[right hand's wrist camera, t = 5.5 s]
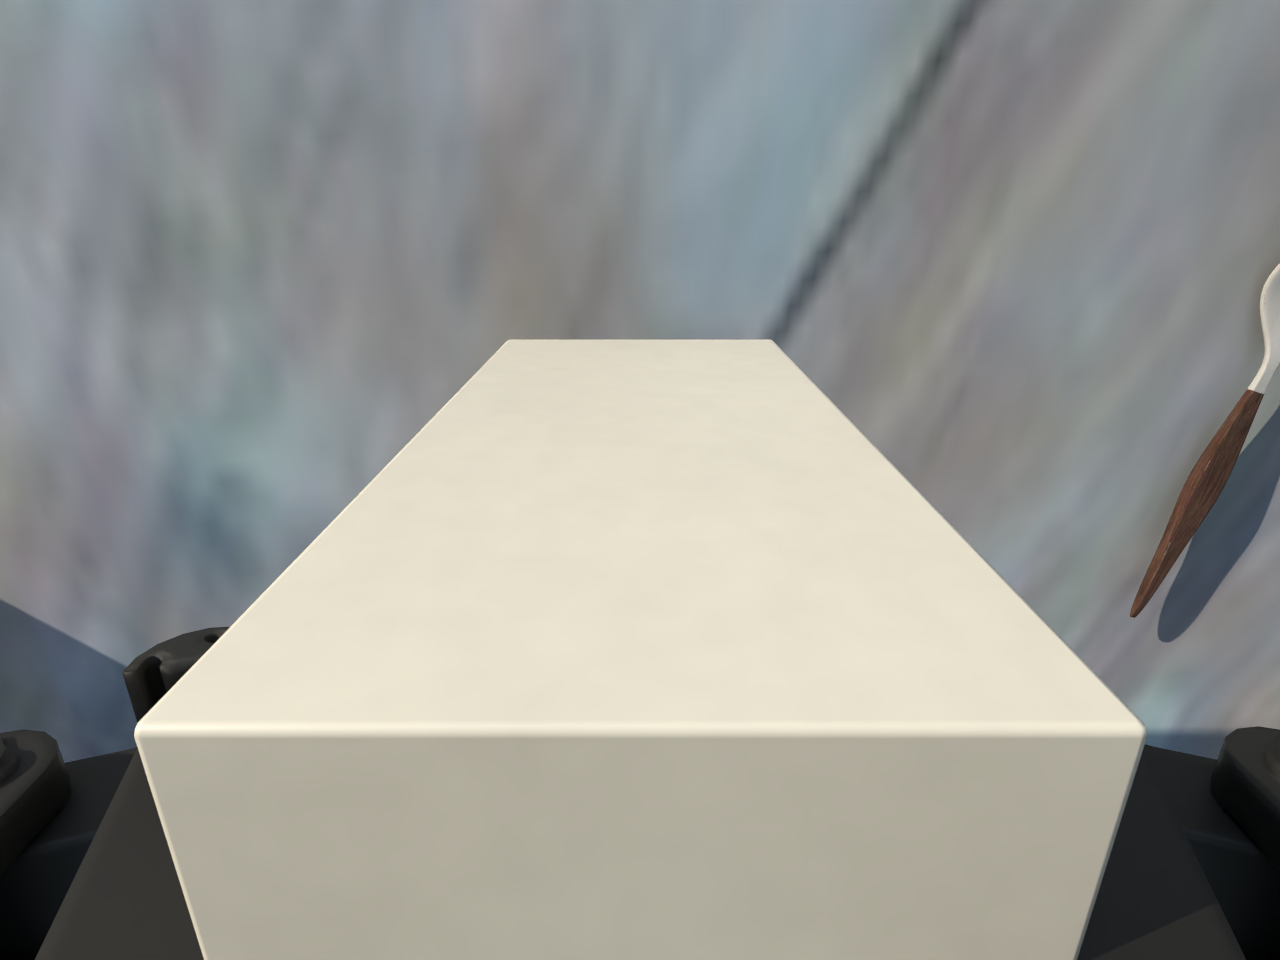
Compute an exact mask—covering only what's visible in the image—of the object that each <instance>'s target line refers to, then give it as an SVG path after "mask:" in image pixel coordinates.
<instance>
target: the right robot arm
mask: <svg viewBox="0 0 1280 960" xmlns="http://www.w3.org/2000/svg"><path fill="white" fill-rule="evenodd" d="M229 628H230V627H217V628H207V629H203V630H199V631H194V632H190V633H186V634H182V635H180V636H177V637H175V638H172V639H170V640H167V641H165V642H162V643H160V644H157V645H156V646H154V647H152V648H151V649H149V650H148V651H146V652H144V653H143V654H141V655H140V656H138V657H136V658H135V659H134V660H133V661H132V663H131V664H130V665H129V666H128V667H127V668H126V669H125V670H124V671H123V672H122V673H123V676H124V680H125V683H126V686H127V689H128V692H129V696H130V699H131V702H132V705H133V709H134V712H135V715H136V718H137V722H139V721H140V720H141V719H142V718H143V717H144V716H145V715H146V714H147V713H148V712H149V711H150V710H151V709H152V708H153V707H154V706H155V704H156V703H157V702H158V701H159V700H160V699H161V698H162V697H163V696H164V695H165V694H166V693H167V692H168V691H169V690H170V689H171V688H172V687H173V686H174V685H175V684H176V683H177V682H178V681H179V680H180V679H181V678H182V677H183V676H184V674H185V673H186V672H187V671H188V670H189V669H190V668H191V667H192V666H193V665H194V664H195V663H196V662H197V661H198V660H199V659H200V658H201V657H202V656H203V655H204V654H205V653H206V652H207V651H208V650H209V649H210V648H211V647H212V646H213V645H214V643H215V642H216V641H217V640H218V639H219V638H220V637H221V636H222V635H223V634H224V633H225V632H226V631H227V630H228V629H229ZM0 960H204V958H203V954H202V951H201V948H200V945H199V942H198V938H197V935H196V932H195V929H194V926H193V923H192V919H191V916H190V913H189V910H188V907H187V903H186V900H185V897H184V894H183V891H182V887H181V884H180V881H179V878H178V875H177V871H176V868H175V865H174V862H173V859H172V856H171V852H170V849H169V846H168V843H167V840H166V836H165V833H164V830H163V827H162V824H161V820H160V817H159V814H158V811H157V808H156V804H155V801H154V798H153V795H152V792H151V788H150V785H149V782H148V779H147V776H146V773H145V769H144V766H143V763H142V760H141V757H140V753H139V750H138V747H136V748H133V749H129V750H125V751H120V752H115V753H110V754H105V755H101V756H96V757H91V758H86V759H81V760H77V761H72V762H67V763H64V761H63V758H62V755H61V752H60V750H59V747H58V744H57V741H56V740H55V739H54V738H52V737H51V736H49V735H48V734H47V733H45V732H40V731H31V730H19V731H12V732H5V733H0ZM1077 960H1280V730H1278V729H1271V728H1265V727H1250V728H1240V729H1236V730H1235V731H1234V732H1232V733H1231V734H1229V735H1228V736H1227V737H1226V738H1225V741H1224V743H1223V746H1222V749H1221V752H1220V754H1219V757H1218V760H1215V759H1210V758H1205V757H1200V756H1195V755H1191V754H1186V753H1181V752H1176V751H1171V750H1166V749H1162V748H1157V747H1153V746H1149V745H1144V748H1143V751H1142V755H1141V758H1140V761H1139V764H1138V767H1137V771H1136V774H1135V777H1134V780H1133V783H1132V786H1131V790H1130V793H1129V796H1128V799H1127V802H1126V806H1125V809H1124V812H1123V815H1122V818H1121V821H1120V825H1119V828H1118V831H1117V834H1116V837H1115V841H1114V844H1113V847H1112V850H1111V853H1110V856H1109V860H1108V863H1107V866H1106V869H1105V872H1104V876H1103V879H1102V882H1101V885H1100V888H1099V891H1098V895H1097V898H1096V901H1095V904H1094V907H1093V911H1092V914H1091V917H1090V920H1089V923H1088V926H1087V930H1086V933H1085V936H1084V939H1083V942H1082V946H1081V949H1080V952H1079V955H1078V958H1077Z"/></svg>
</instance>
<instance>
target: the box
mask: <svg viewBox="0 0 1280 960" xmlns="http://www.w3.org/2000/svg"><path fill="white" fill-rule="evenodd" d="M134 737H135V741H136V744H137V747H138V750H139V753H140V757H141V760H142V763H143V766H144V769H145V773H146V776H147V779H148V782H149V785H150V788H151V792H152V795H153V798H154V801H155V804H156V808H157V811H158V814H159V817H160V820H161V824H162V827H163V830H164V833H165V836H166V840H167V843H168V846H169V849H170V852H171V856H172V859H173V862H174V865H175V868H176V871H177V875H178V878H179V881H180V884H181V887H182V891H183V894H184V897H185V900H186V903H187V907H188V910H189V913H190V916H191V919H192V923H193V926H194V929H195V932H196V935H197V938H198V942H199V945H200V948H201V951H202V954H203V958H204V960H1077V958H1078V955H1079V952H1080V949H1081V946H1082V942H1083V939H1084V936H1085V933H1086V930H1087V926H1088V923H1089V920H1090V917H1091V914H1092V911H1093V907H1094V904H1095V901H1096V898H1097V895H1098V891H1099V888H1100V885H1101V882H1102V879H1103V876H1104V872H1105V869H1106V866H1107V863H1108V860H1109V856H1110V853H1111V850H1112V847H1113V844H1114V841H1115V837H1116V834H1117V831H1118V828H1119V825H1120V821H1121V818H1122V815H1123V812H1124V809H1125V806H1126V802H1127V799H1128V796H1129V793H1130V790H1131V786H1132V783H1133V780H1134V777H1135V774H1136V771H1137V767H1138V764H1139V761H1140V758H1141V755H1142V751H1143V748H1144V745H1145V742H1146V739H1147V730H1146V727H1145V725H1144V723H1143V722H1142V721H1141V720H1140V719H1139V717H1138V716H1137V715H1136V714H1135V713H1134V712H1133V711H1132V710H1131V709H1130V708H1129V707H1128V706H1127V705H1126V704H1125V703H1124V702H1123V701H1122V700H1121V699H1120V698H1119V697H1118V696H1117V695H1116V694H1115V693H1114V692H1113V691H1112V690H1111V689H1110V688H1109V687H1108V686H1107V685H1106V683H1105V682H1104V681H1103V680H1102V679H1101V678H1100V677H1099V676H1098V675H1097V674H1096V673H1095V672H1094V671H1093V670H1092V669H1091V668H1090V667H1089V666H1088V665H1087V664H1086V663H1085V662H1084V661H1083V660H1082V659H1081V658H1080V657H1079V656H1078V655H1077V654H1076V653H1075V652H1074V651H1073V649H1072V648H1071V647H1070V646H1069V645H1068V644H1067V643H1066V642H1065V641H1064V640H1063V639H1062V638H1061V637H1060V636H1059V635H1058V634H1057V633H1056V632H1055V631H1054V630H1053V629H1052V628H1051V627H1050V626H1049V625H1048V624H1047V623H1046V622H1045V621H1044V620H1043V619H1042V618H1041V617H1040V615H1039V614H1038V613H1037V612H1036V611H1035V610H1034V609H1033V608H1032V607H1031V606H1030V605H1029V604H1028V603H1027V602H1026V601H1025V600H1024V599H1023V598H1022V597H1021V596H1020V595H1019V594H1018V593H1017V592H1016V591H1015V590H1014V589H1013V588H1012V587H1011V586H1010V585H1009V584H1008V583H1007V581H1006V580H1005V579H1004V578H1003V577H1002V576H1001V575H1000V574H999V573H998V572H997V571H996V570H995V569H994V568H993V567H992V566H991V565H990V564H989V563H988V562H987V561H986V560H985V559H984V558H983V557H982V556H981V555H980V554H979V553H978V552H977V551H976V550H975V549H974V547H973V546H972V545H971V544H970V543H969V542H968V541H967V540H966V539H965V538H964V537H963V536H962V535H961V534H960V533H959V532H958V531H957V530H956V529H955V528H954V527H953V526H952V525H951V524H950V523H949V522H948V521H947V520H946V519H945V518H944V517H943V516H942V515H941V513H940V512H939V511H938V510H937V509H936V508H935V507H934V506H933V505H932V504H931V503H930V502H929V501H928V500H927V499H926V498H925V497H924V496H923V495H922V494H921V493H920V492H919V491H918V490H917V489H916V488H915V487H914V486H913V485H912V484H911V483H910V482H909V481H908V479H907V478H906V477H905V476H904V475H903V474H902V473H901V472H900V471H899V470H898V469H897V468H896V467H895V466H894V465H893V464H892V463H891V462H890V461H889V460H888V459H887V458H886V457H885V456H884V455H883V454H882V453H881V452H880V451H879V450H878V449H877V448H876V447H875V445H874V444H873V443H872V442H871V441H870V440H869V439H868V438H867V437H866V436H865V435H864V434H863V433H862V432H861V431H860V430H859V429H858V428H857V427H856V426H855V425H854V424H853V423H852V422H851V421H850V420H849V419H848V418H847V417H846V416H845V415H844V414H843V413H842V411H841V410H840V409H839V408H838V407H837V406H836V405H835V404H834V403H833V402H832V401H831V400H830V399H829V398H828V397H827V396H826V395H825V394H824V393H823V392H822V391H821V390H820V389H819V388H818V387H817V386H816V385H815V384H814V383H813V382H812V381H811V380H810V379H809V377H808V376H807V375H806V374H805V373H804V372H803V371H802V370H801V369H800V368H799V367H798V366H797V365H796V364H795V363H794V362H793V361H792V360H791V359H790V358H789V357H788V356H787V355H786V354H785V353H784V352H783V351H782V350H781V349H780V348H779V347H778V346H777V345H776V343H775V342H774V341H772V340H508V341H507V342H506V343H505V344H504V345H503V346H502V347H501V348H500V349H499V350H498V351H497V352H496V353H495V354H494V355H493V356H492V357H491V358H490V359H489V360H488V361H487V362H486V363H485V364H484V365H483V367H482V368H481V369H480V370H479V371H478V372H477V373H476V374H475V375H474V376H473V377H472V378H471V379H470V380H469V381H468V382H467V383H466V384H465V385H464V386H463V387H462V388H461V389H460V390H459V391H458V392H457V393H456V394H455V395H454V397H453V398H452V399H451V400H450V401H449V402H448V403H447V404H446V405H445V406H444V407H443V408H442V409H441V410H440V411H439V412H438V413H437V414H436V415H435V416H434V417H433V418H432V419H431V420H430V421H429V422H428V423H427V424H426V425H425V426H424V428H423V429H422V430H421V431H420V432H419V433H418V434H417V435H416V436H415V437H414V438H413V439H412V440H411V441H410V442H409V443H408V444H407V445H406V446H405V447H404V448H403V449H402V450H401V451H400V452H399V453H398V454H397V455H396V456H395V457H394V459H393V460H392V461H391V462H390V463H389V464H388V465H387V466H386V467H385V468H384V469H383V470H382V471H381V472H380V473H379V474H378V475H377V476H376V477H375V478H374V479H373V480H372V481H371V482H370V483H369V484H368V485H367V486H366V487H365V488H364V490H363V491H362V492H361V493H360V494H359V495H358V496H357V497H356V498H355V499H354V500H353V501H352V502H351V503H350V504H349V505H348V506H347V507H346V508H345V509H344V510H343V511H342V512H341V513H340V514H339V515H338V516H337V517H336V518H335V519H334V521H333V522H332V523H331V524H330V525H329V526H328V527H327V528H326V529H325V530H324V531H323V532H322V533H321V534H320V535H319V536H318V537H317V538H316V539H315V540H314V541H313V542H312V543H311V544H310V545H309V546H308V547H307V548H306V549H305V550H304V552H303V553H302V554H301V555H300V556H299V557H298V558H297V559H296V560H295V561H294V562H293V563H292V564H291V565H290V566H289V567H288V568H287V569H286V570H285V571H284V572H283V573H282V574H281V575H280V576H279V577H278V578H277V579H276V580H275V581H274V583H273V584H272V585H271V586H270V587H269V588H268V589H267V590H266V591H265V592H264V593H263V594H262V595H261V596H260V597H259V598H258V599H257V600H256V601H255V602H254V603H253V604H252V605H251V606H250V607H249V608H248V609H247V610H246V611H245V612H244V614H243V615H242V616H241V617H240V618H239V619H238V620H237V621H236V622H235V623H234V624H233V625H232V626H231V627H230V628H229V629H228V630H227V631H226V632H225V633H224V634H223V635H222V636H221V637H220V638H219V639H218V640H217V641H216V642H215V643H214V645H213V646H212V647H211V648H210V649H209V650H208V651H207V652H206V653H205V654H204V655H203V656H202V657H201V658H200V659H199V660H198V661H197V662H196V663H195V664H194V665H193V666H192V667H191V668H190V669H189V670H188V671H187V672H186V673H185V674H184V676H183V677H182V678H181V679H180V680H179V681H178V682H177V683H176V684H175V685H174V686H173V687H172V688H171V689H170V690H169V691H168V692H167V693H166V694H165V695H164V696H163V697H162V698H161V699H160V700H159V701H158V702H157V703H156V704H155V706H154V707H153V708H152V709H151V710H150V711H149V712H148V713H147V714H146V715H145V716H144V717H143V718H142V719H141V720H140V721H139V722H138V723H137V726H136V728H135V733H134Z"/></svg>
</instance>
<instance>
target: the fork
mask: <svg viewBox="0 0 1280 960" xmlns="http://www.w3.org/2000/svg"><path fill="white" fill-rule="evenodd" d="M1260 317H1261V324H1262V329H1263V335H1264V342H1265V355H1264V360H1263V363H1262V365H1261V368H1260V370H1259V371H1258V373H1257V375H1256V377H1255V378H1254V380H1253V381H1252V383H1251V384H1250V386H1249V387H1248V389H1247V390H1246V392H1245V393H1244V395H1243V396H1242V397H1241V399H1240V400H1239V402H1238V403H1237V405H1236V406H1235V407H1234V409H1233V410H1232V412H1231V413H1230V415H1229V416H1228V417H1227V419H1226V420H1225V422H1224V423H1223V425H1222V426H1221V427H1220V429H1219V430H1218V432H1217V433H1216V435H1215V436H1214V438H1213V439H1212V440H1211V442H1210V443H1209V445H1208V446H1207V448H1206V449H1205V451H1204V452H1203V454H1202V455H1201V457H1200V458H1199V460H1198V462H1197V463H1196V465H1195V466H1194V468H1193V470H1192V471H1191V473H1190V475H1189V477H1188V479H1187V481H1186V483H1185V485H1184V487H1183V489H1182V491H1181V493H1180V496H1179V498H1178V500H1177V503H1176V505H1175V508H1174V510H1173V513H1172V515H1171V518H1170V520H1169V522H1168V525H1167V527H1166V530H1165V532H1164V535H1163V537H1162V539H1161V542H1160V544H1159V546H1158V549H1157V551H1156V553H1155V555H1154V557H1153V559H1152V562H1151V564H1150V566H1149V568H1148V570H1147V572H1146V575H1145V577H1144V579H1143V581H1142V583H1141V586H1140V588H1139V590H1138V593H1137V595H1136V598H1135V600H1134V603H1133V606H1132V609H1131V613H1130V617H1134V618H1135V617H1136V616H1137V615H1138V614H1139V613H1140V612H1141V611H1142V609H1143V608H1144V607H1145V605H1146V604H1147V603H1148V601H1149V600H1150V599H1151V597H1152V596H1153V594H1154V593H1155V592H1156V590H1157V589H1158V587H1159V586H1160V584H1161V583H1162V581H1163V580H1164V578H1165V577H1166V575H1167V574H1168V572H1169V570H1170V569H1171V567H1172V566H1173V564H1174V563H1175V561H1176V560H1177V558H1178V557H1179V555H1180V554H1181V552H1182V551H1183V549H1184V548H1185V546H1186V545H1187V543H1188V542H1189V540H1190V539H1191V537H1192V536H1193V535H1194V533H1195V532H1196V530H1197V529H1198V527H1199V526H1200V524H1201V523H1202V521H1203V520H1204V518H1205V517H1206V516H1207V514H1208V512H1209V511H1210V509H1211V508H1212V506H1213V505H1214V503H1215V502H1216V500H1217V498H1218V497H1219V495H1220V493H1221V492H1222V490H1223V488H1224V486H1225V484H1226V482H1227V480H1228V478H1229V476H1230V474H1231V472H1232V469H1233V467H1234V465H1235V463H1236V460H1237V458H1238V456H1239V453H1240V451H1241V449H1242V446H1243V444H1244V441H1245V439H1246V436H1247V434H1248V432H1249V429H1250V427H1251V424H1252V422H1253V420H1254V417H1255V415H1256V412H1257V410H1258V407H1259V405H1260V403H1261V400H1262V398H1263V396H1264V393H1265V391H1266V389H1267V386H1268V384H1269V382H1270V380H1271V378H1272V376H1273V374H1274V372H1275V370H1276V368H1277V367H1278V365H1279V363H1280V264H1279V265H1278V266H1277V267H1276V268H1275V269H1274V271H1273V272H1272V273H1271V275H1270V276H1269V278H1268V279H1267V281H1266V283H1265V285H1264V287H1263V290H1262V293H1261V299H1260Z"/></svg>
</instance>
